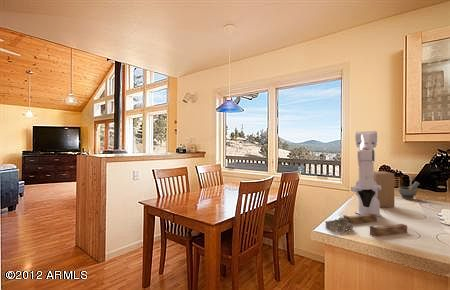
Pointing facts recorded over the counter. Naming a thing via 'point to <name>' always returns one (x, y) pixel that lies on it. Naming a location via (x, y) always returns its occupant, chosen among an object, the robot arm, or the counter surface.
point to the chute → (377, 230)
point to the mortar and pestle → (409, 191)
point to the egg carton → (339, 224)
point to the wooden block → (385, 188)
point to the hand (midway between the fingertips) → (366, 206)
